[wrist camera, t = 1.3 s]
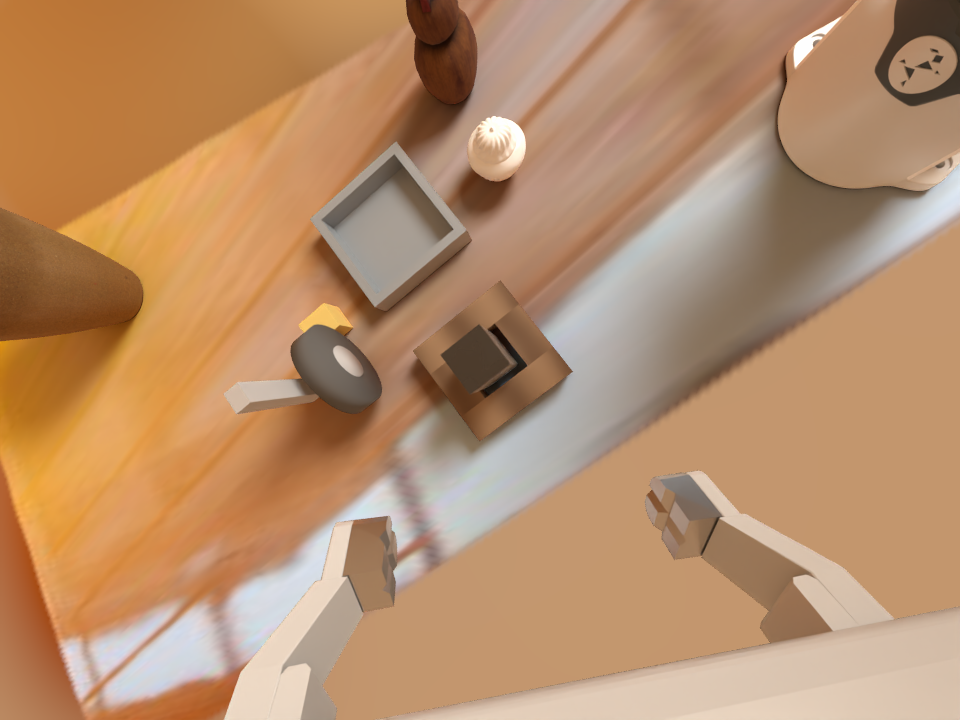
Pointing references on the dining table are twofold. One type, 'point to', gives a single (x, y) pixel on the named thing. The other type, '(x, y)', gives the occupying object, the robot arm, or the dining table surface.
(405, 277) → the tray
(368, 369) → the grey disc with lever
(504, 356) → the pin
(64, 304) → the plant pot
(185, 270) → the dining table surface
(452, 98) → the wooden figurine
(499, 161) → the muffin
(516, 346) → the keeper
